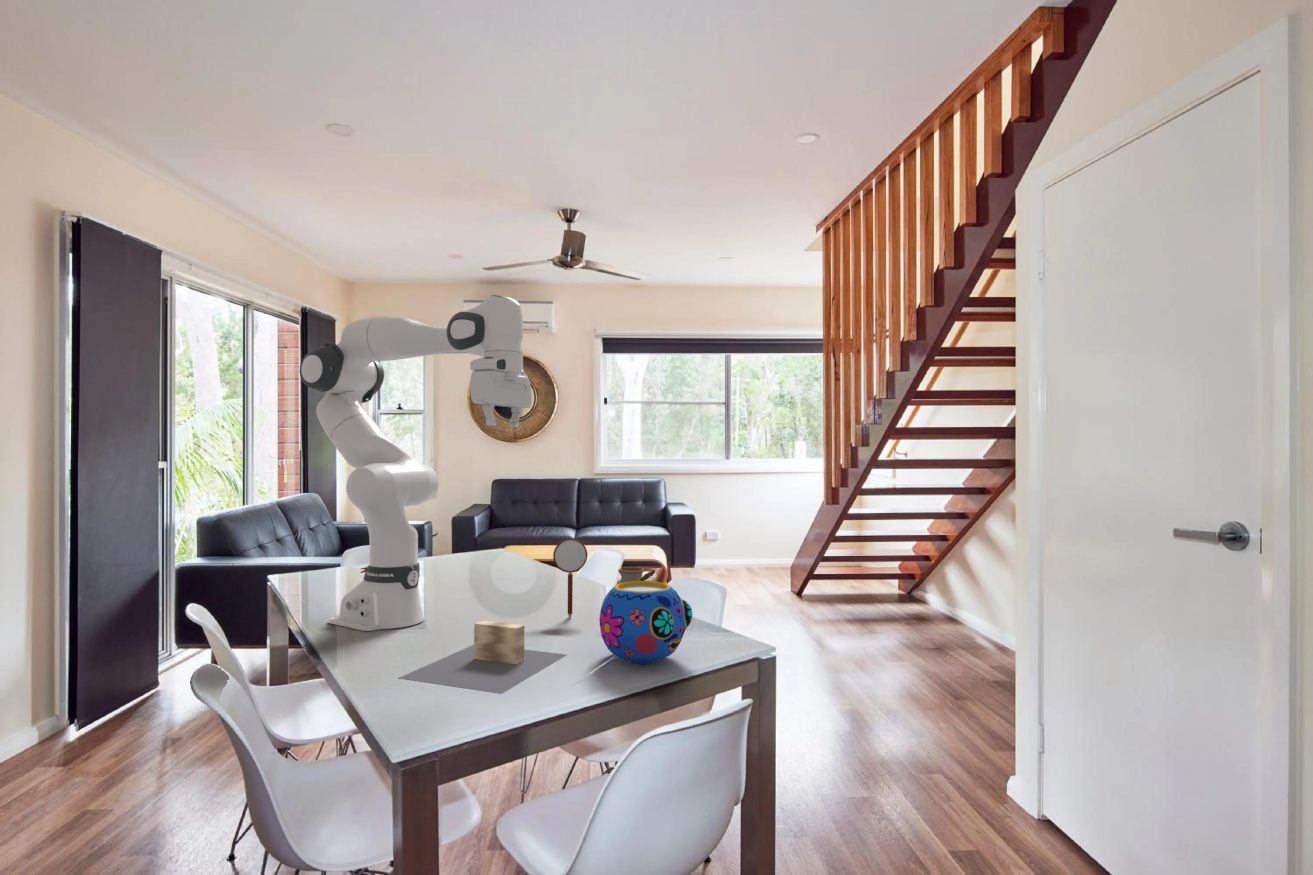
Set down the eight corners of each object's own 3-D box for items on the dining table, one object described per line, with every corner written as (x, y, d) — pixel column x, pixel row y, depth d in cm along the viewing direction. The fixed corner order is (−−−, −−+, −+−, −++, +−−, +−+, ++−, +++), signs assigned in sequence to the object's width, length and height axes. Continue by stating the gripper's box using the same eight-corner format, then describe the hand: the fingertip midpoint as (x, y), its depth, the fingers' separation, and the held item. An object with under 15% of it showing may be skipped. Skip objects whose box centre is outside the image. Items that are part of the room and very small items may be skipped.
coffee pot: (602, 617, 174) (602, 558, 174) (644, 613, 178) (645, 555, 178) (630, 639, 154) (630, 572, 154) (677, 634, 158) (677, 569, 159)
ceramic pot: (660, 680, 127) (660, 598, 127) (581, 665, 136) (581, 588, 136) (700, 655, 142) (701, 582, 142) (627, 643, 151) (628, 574, 151)
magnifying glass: (552, 619, 172) (553, 539, 172) (552, 617, 174) (553, 538, 174) (587, 617, 174) (587, 538, 174) (586, 615, 175) (587, 537, 176)
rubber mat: (398, 681, 125) (398, 677, 125) (476, 646, 148) (476, 643, 148) (501, 696, 118) (501, 693, 118) (567, 657, 140) (567, 654, 140)
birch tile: (474, 658, 137) (474, 623, 137) (481, 654, 140) (482, 620, 140) (517, 664, 134) (517, 628, 134) (524, 660, 136) (525, 624, 136)
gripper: (515, 371, 169) (515, 427, 169) (465, 361, 150) (464, 424, 150) (538, 370, 167) (537, 427, 167) (489, 360, 148) (489, 424, 148)
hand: (502, 425), depth 158 cm, fingers open, 8 cm apart
